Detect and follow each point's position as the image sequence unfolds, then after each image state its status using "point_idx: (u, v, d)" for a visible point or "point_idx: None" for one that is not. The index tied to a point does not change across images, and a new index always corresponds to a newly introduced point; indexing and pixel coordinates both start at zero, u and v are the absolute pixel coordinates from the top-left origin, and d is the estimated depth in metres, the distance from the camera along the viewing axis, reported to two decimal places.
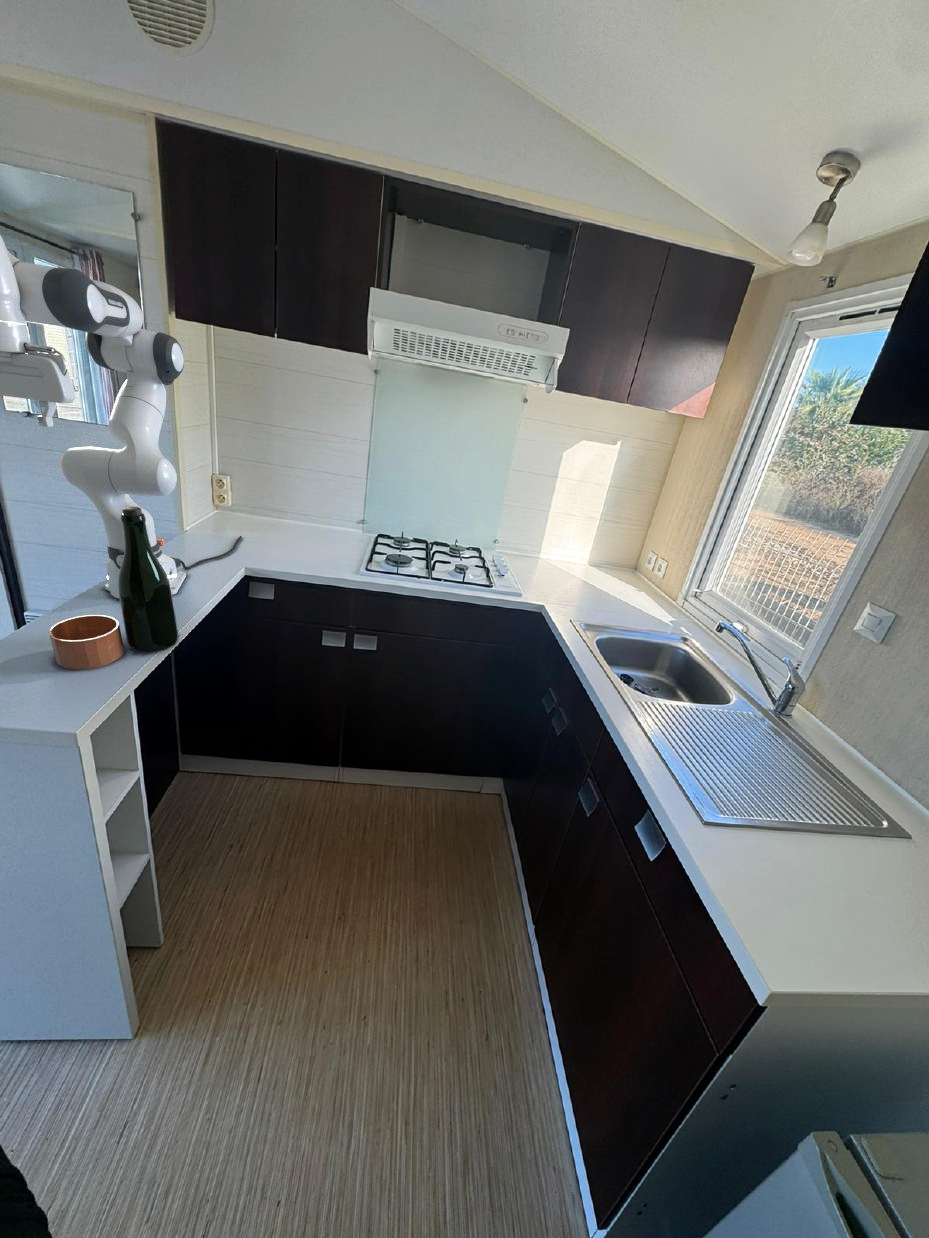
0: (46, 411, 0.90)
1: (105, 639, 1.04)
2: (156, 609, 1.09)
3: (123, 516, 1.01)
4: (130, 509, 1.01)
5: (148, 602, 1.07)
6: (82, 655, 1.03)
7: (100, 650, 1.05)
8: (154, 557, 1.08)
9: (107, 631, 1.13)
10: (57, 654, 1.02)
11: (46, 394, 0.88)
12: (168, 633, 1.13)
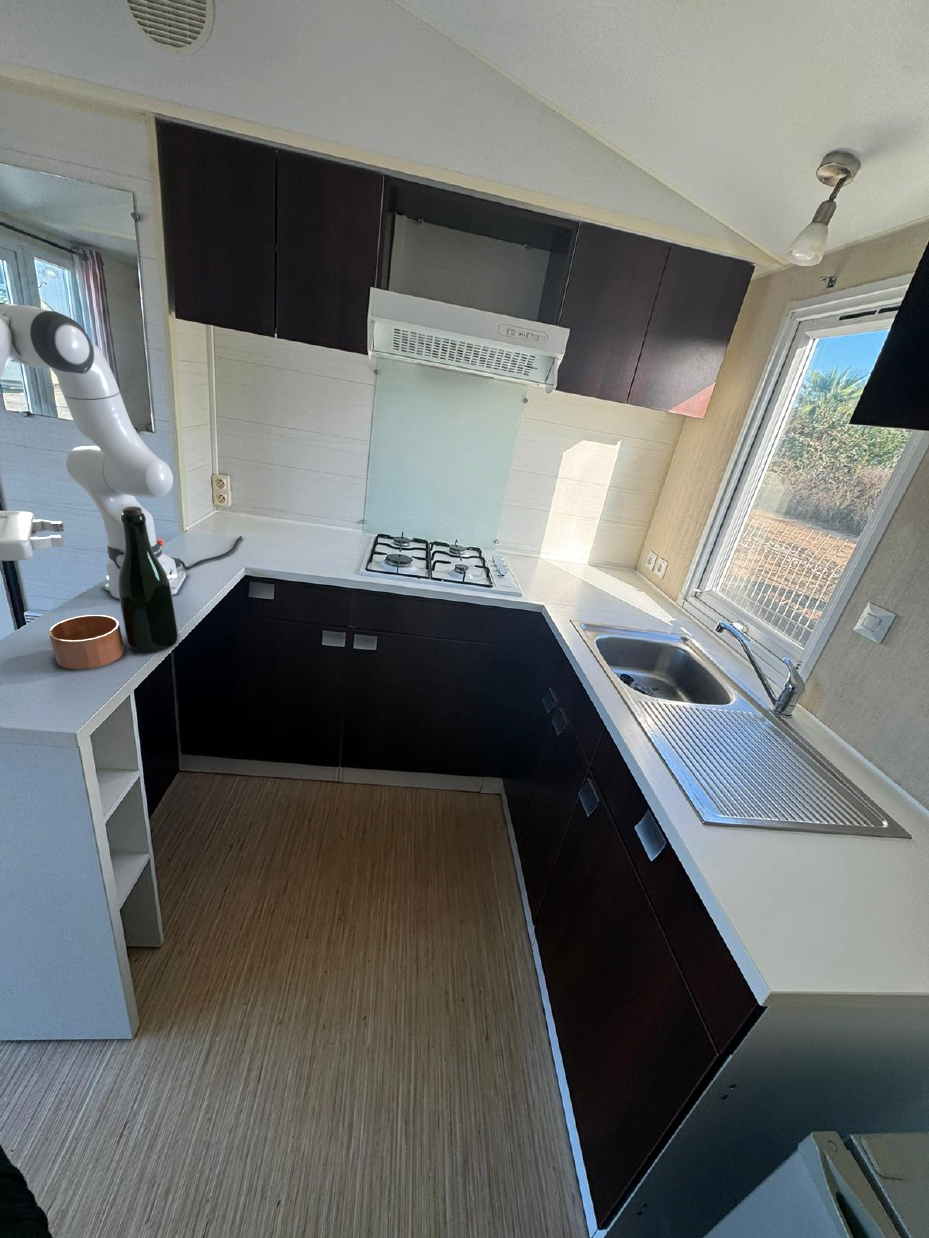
0: None
1: (105, 639, 1.04)
2: (157, 609, 1.09)
3: (123, 516, 1.01)
4: (130, 509, 1.01)
5: (148, 602, 1.07)
6: (82, 655, 1.03)
7: (100, 650, 1.05)
8: (154, 557, 1.08)
9: (107, 631, 1.13)
10: (57, 654, 1.02)
11: None
12: (168, 633, 1.13)
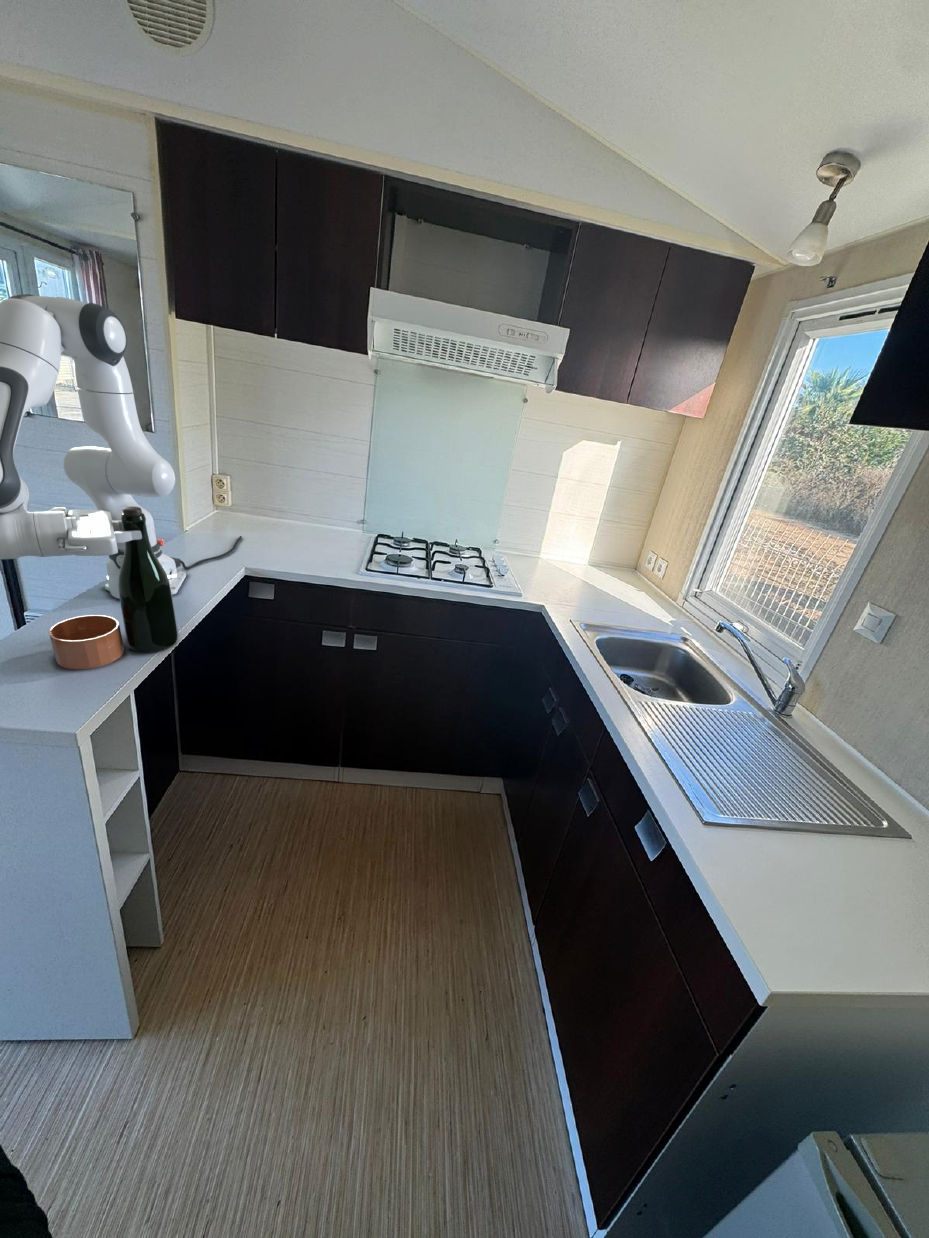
0: None
1: (105, 639, 1.04)
2: (157, 609, 1.09)
3: (123, 516, 1.01)
4: (130, 509, 1.01)
5: (148, 602, 1.07)
6: (82, 655, 1.03)
7: (100, 650, 1.05)
8: (154, 557, 1.08)
9: (107, 631, 1.13)
10: (57, 654, 1.02)
11: None
12: (168, 633, 1.13)
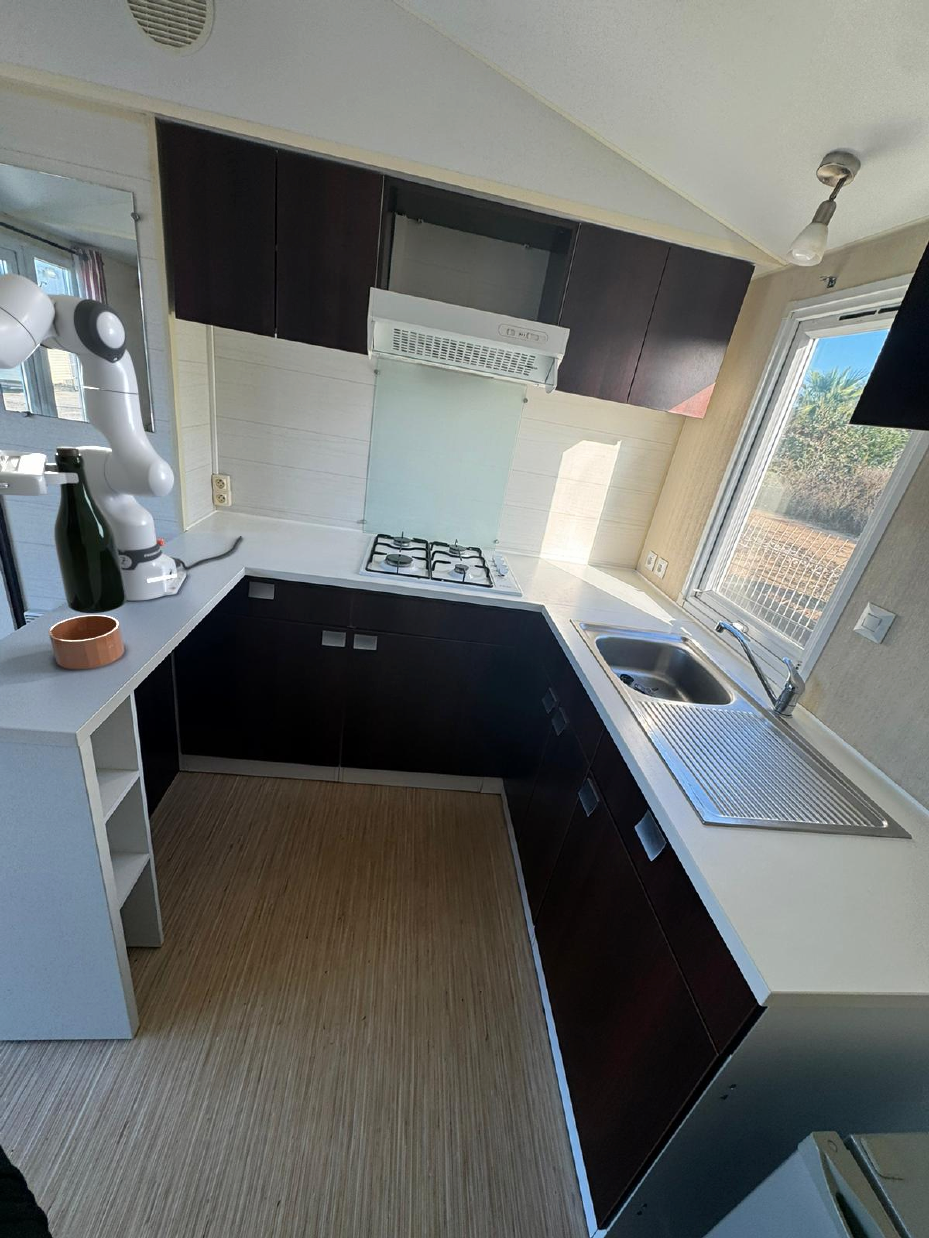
0: None
1: (105, 639, 1.04)
2: (98, 564, 0.98)
3: (57, 456, 0.90)
4: (65, 448, 0.91)
5: (88, 555, 0.96)
6: (82, 655, 1.03)
7: (100, 650, 1.05)
8: (95, 506, 0.97)
9: (107, 631, 1.13)
10: (57, 654, 1.02)
11: None
12: (112, 592, 1.02)
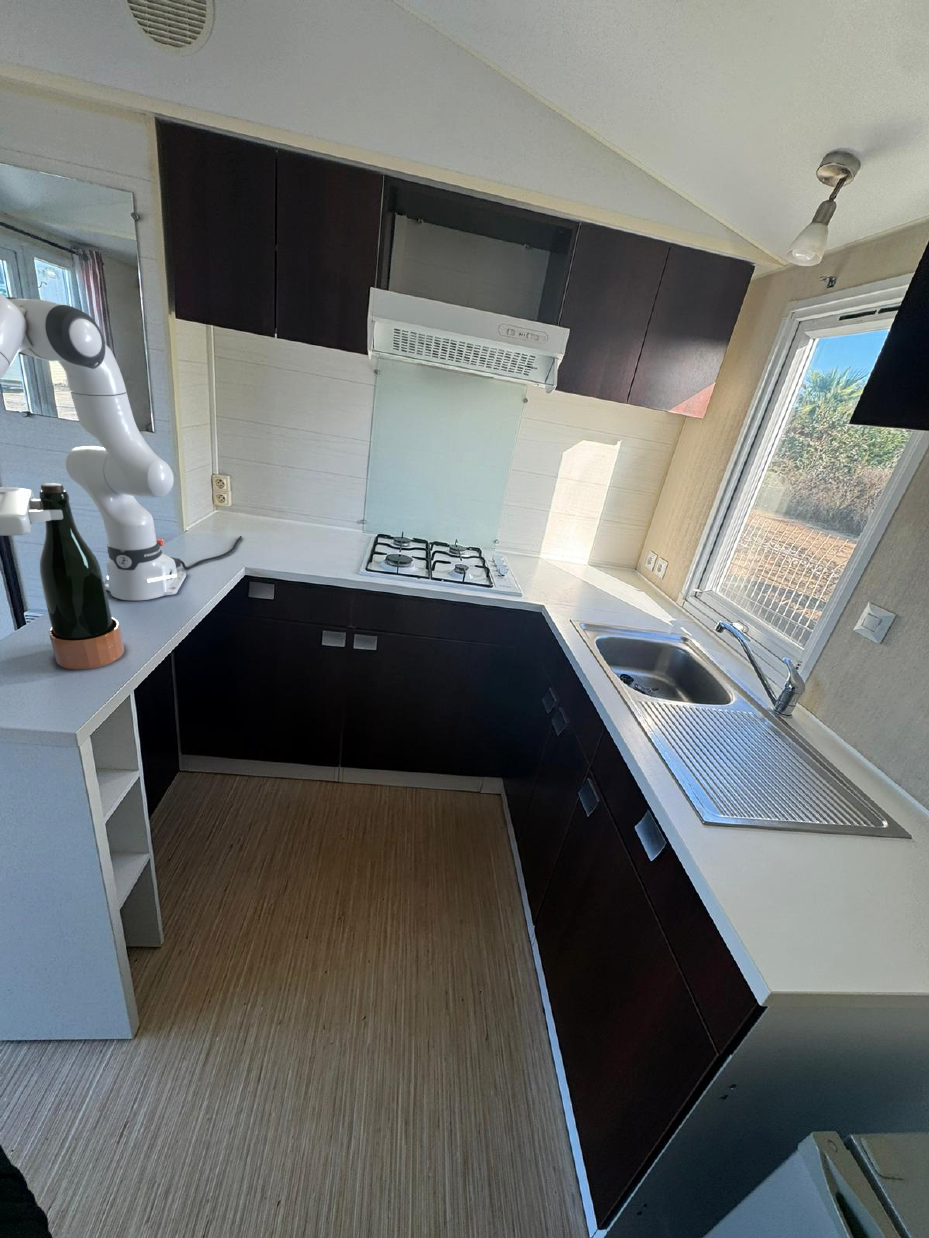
0: (44, 521, 0.91)
1: (105, 639, 1.04)
2: (84, 597, 0.99)
3: (41, 493, 0.91)
4: (49, 486, 0.91)
5: (73, 589, 0.97)
6: (82, 655, 1.03)
7: (100, 650, 1.05)
8: (80, 540, 0.98)
9: None
10: (57, 654, 1.02)
11: None
12: (99, 624, 1.03)
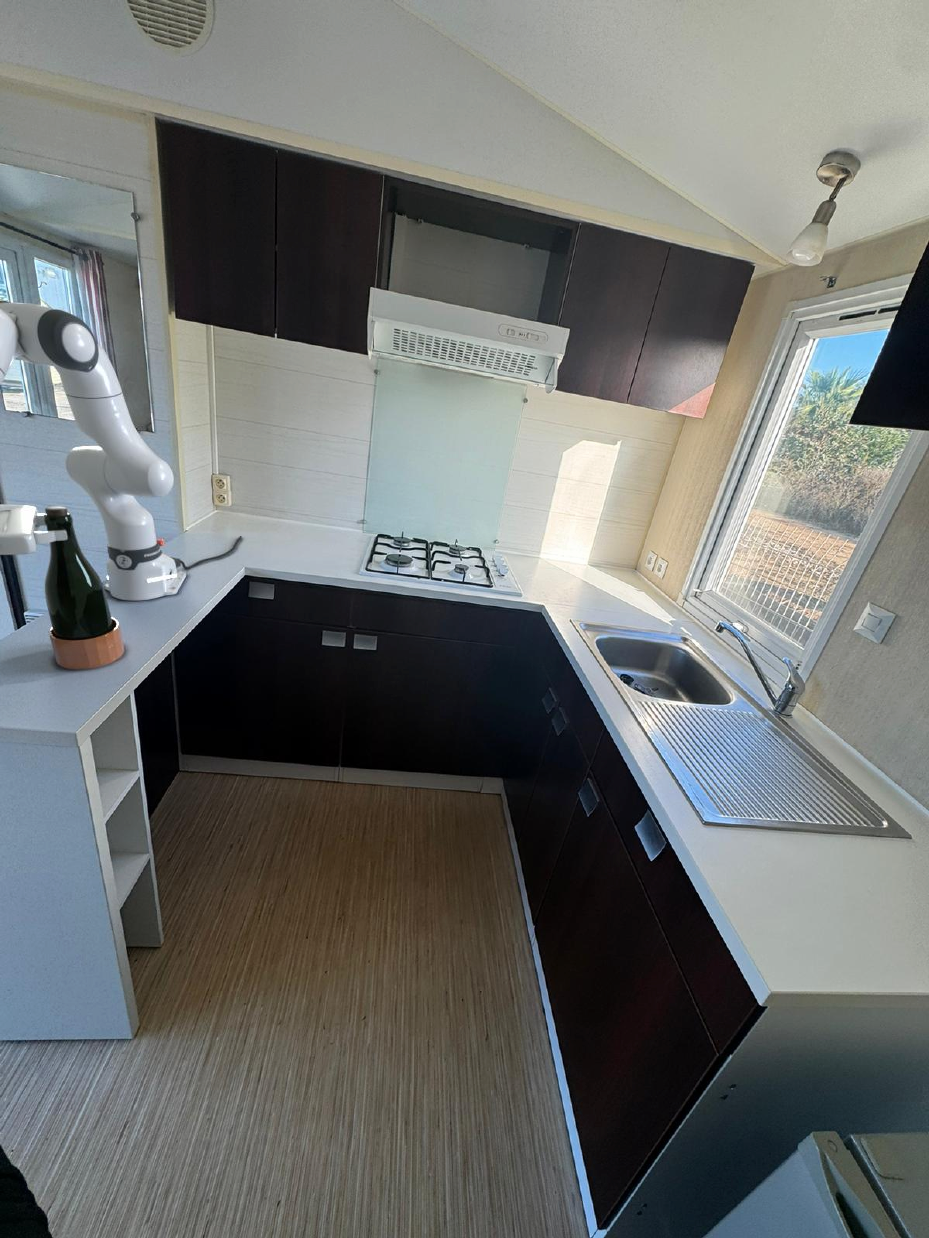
0: None
1: (105, 639, 1.04)
2: (88, 617, 1.01)
3: (46, 517, 0.93)
4: (53, 509, 0.93)
5: (77, 609, 0.99)
6: (82, 655, 1.03)
7: (100, 650, 1.05)
8: (84, 561, 1.00)
9: None
10: (57, 654, 1.02)
11: None
12: None
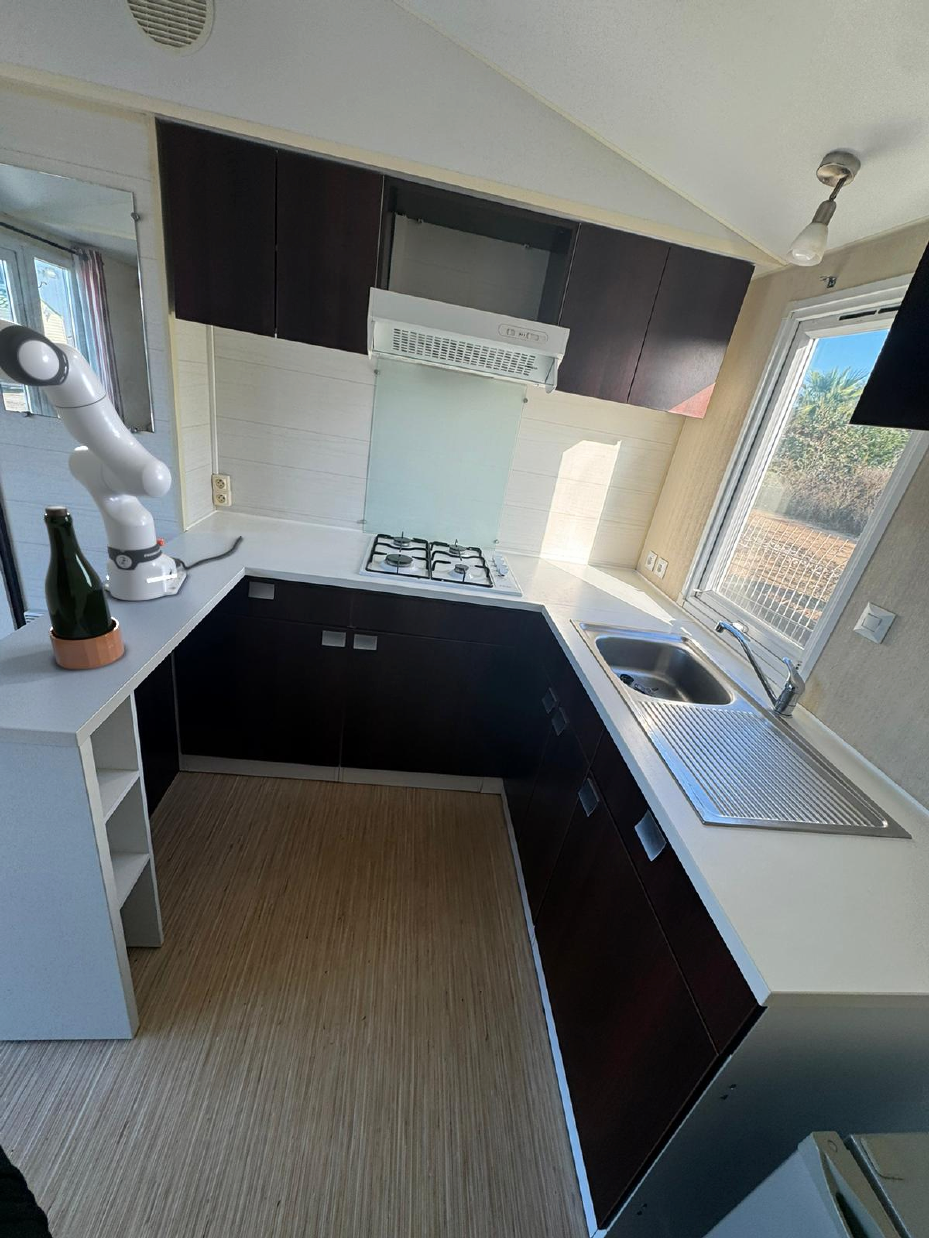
0: None
1: (105, 639, 1.04)
2: (88, 617, 1.01)
3: (46, 517, 0.93)
4: (53, 509, 0.93)
5: (77, 609, 0.99)
6: (82, 655, 1.03)
7: (100, 650, 1.05)
8: (84, 561, 1.00)
9: None
10: (57, 654, 1.02)
11: None
12: None
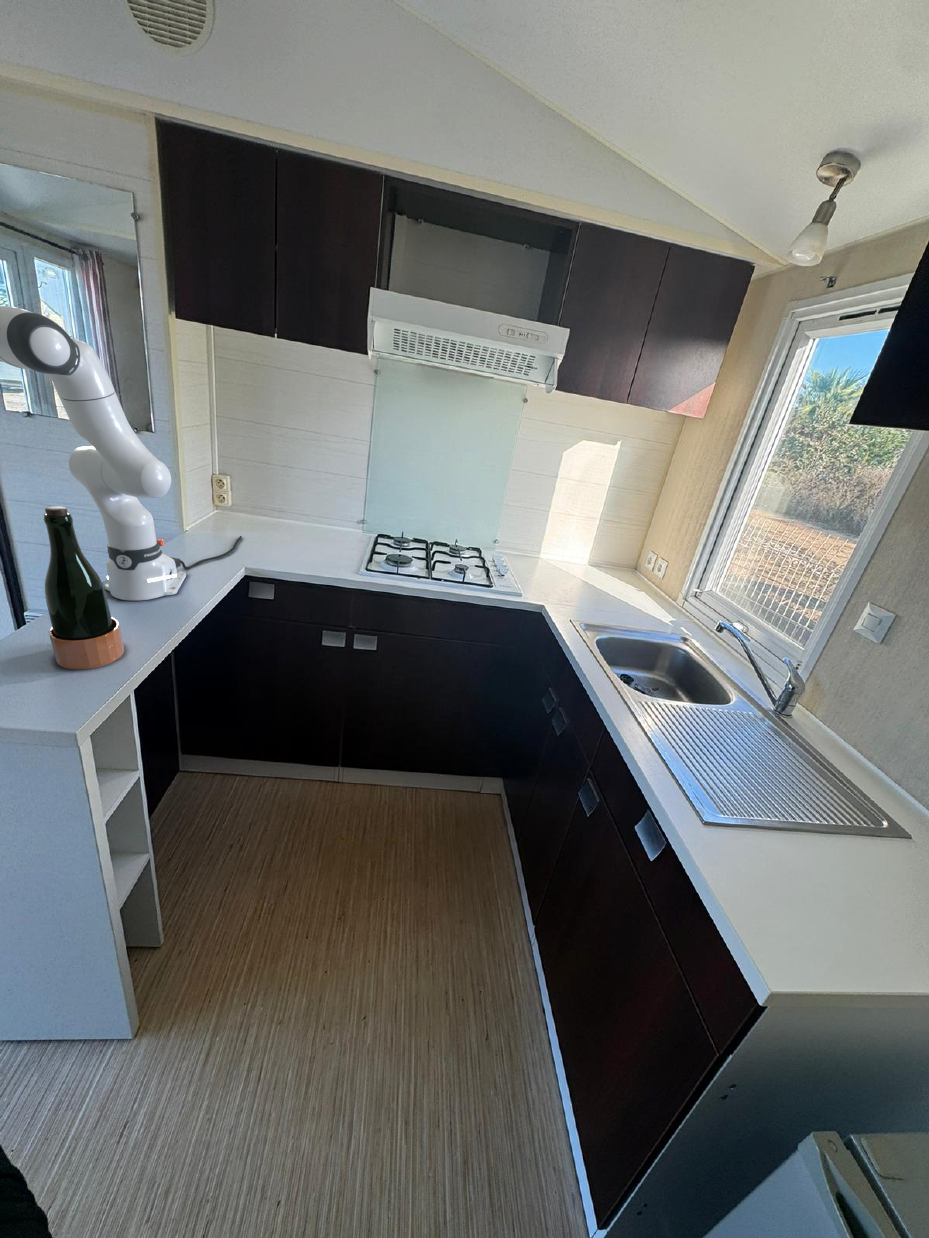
0: None
1: (105, 639, 1.04)
2: (88, 617, 1.01)
3: (46, 517, 0.93)
4: (53, 509, 0.93)
5: (77, 609, 0.99)
6: (82, 655, 1.03)
7: (100, 650, 1.05)
8: (84, 561, 1.00)
9: None
10: (57, 654, 1.02)
11: None
12: None
